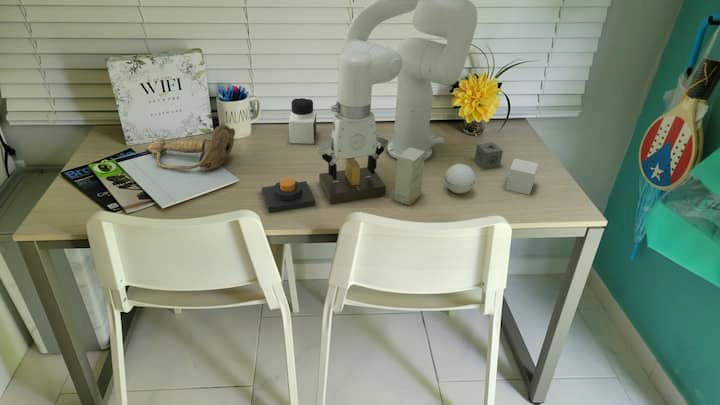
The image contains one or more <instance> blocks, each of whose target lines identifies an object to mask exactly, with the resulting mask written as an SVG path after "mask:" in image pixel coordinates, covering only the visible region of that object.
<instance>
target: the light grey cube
mask: <svg viewBox="0 0 720 405" xmlns="http://www.w3.org/2000/svg"><path fill="white" fill-rule="evenodd" d="M538 167H539V163H537V162H533V161H528V160H523V159H519V158H513V161H512V164H511V166H510V168H509V173H508V177H507V182H506V187H505V190H507V191H512V192H516V193H520V194H524V195H528V196H530V195H531V192H532V190H533V187H534V183H535V178H536V175H537V171H538Z"/></svg>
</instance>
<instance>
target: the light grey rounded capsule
mask: <svg viewBox="0 0 720 405" xmlns="http://www.w3.org/2000/svg"><path fill="white" fill-rule="evenodd" d="M444 182H445V185H446V187H447V189H449V190H450V191H451V192H452V193H456V194H464V193H467V192H470V190H472V188H473V187H474V184H475V183H476V176H475V172H474V170H473V169H472V167H470V166H469V165H467V164H463V163H456V164H453V165H451V166H450V167H449V168H448V169H447V170H446V173H445V175H444Z"/></svg>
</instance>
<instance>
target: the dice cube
mask: <svg viewBox="0 0 720 405" xmlns="http://www.w3.org/2000/svg"><path fill="white" fill-rule="evenodd" d="M502 156H503V149H502V148H501V147H500V146H499V145H497V144H496V143H495V142H493V141H492V142H484V143H477V144H476V149H475V155H474V162H475V163H476V164H477V165H478V166H479V167H480V168H481V169H482V170H486V169H494V168H500V166H501V161H502Z"/></svg>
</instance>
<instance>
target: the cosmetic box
mask: <svg viewBox="0 0 720 405" xmlns="http://www.w3.org/2000/svg"><path fill="white" fill-rule="evenodd" d="M424 157H425V151H422V150H419V149H416V148H412V147H408V148H407V149H406V150H405V151H403V152H402V153H401V154H400V155H399V156H398V159H396V173H395V186H394V199H393V200H394V201H395V202H398V203H401V204H404V205H407V206H411V205H412V204H413V203H414V202H415V201H416V200H417V199H418V198H419V197H420V196H421V194H422V186H423V176H424V165H425V160H424Z"/></svg>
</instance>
